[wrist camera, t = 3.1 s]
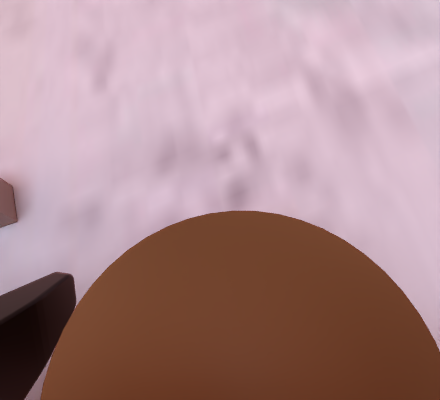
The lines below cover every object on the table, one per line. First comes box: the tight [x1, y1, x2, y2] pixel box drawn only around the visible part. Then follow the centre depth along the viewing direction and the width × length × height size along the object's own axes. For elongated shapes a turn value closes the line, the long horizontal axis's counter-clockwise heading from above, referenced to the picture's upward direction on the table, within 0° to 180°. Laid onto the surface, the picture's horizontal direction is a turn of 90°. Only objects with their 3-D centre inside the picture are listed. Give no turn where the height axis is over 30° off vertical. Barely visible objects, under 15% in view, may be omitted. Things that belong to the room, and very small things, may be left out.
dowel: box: [40, 211, 440, 400], centre depth 9 cm, size 4×4×12 cm
